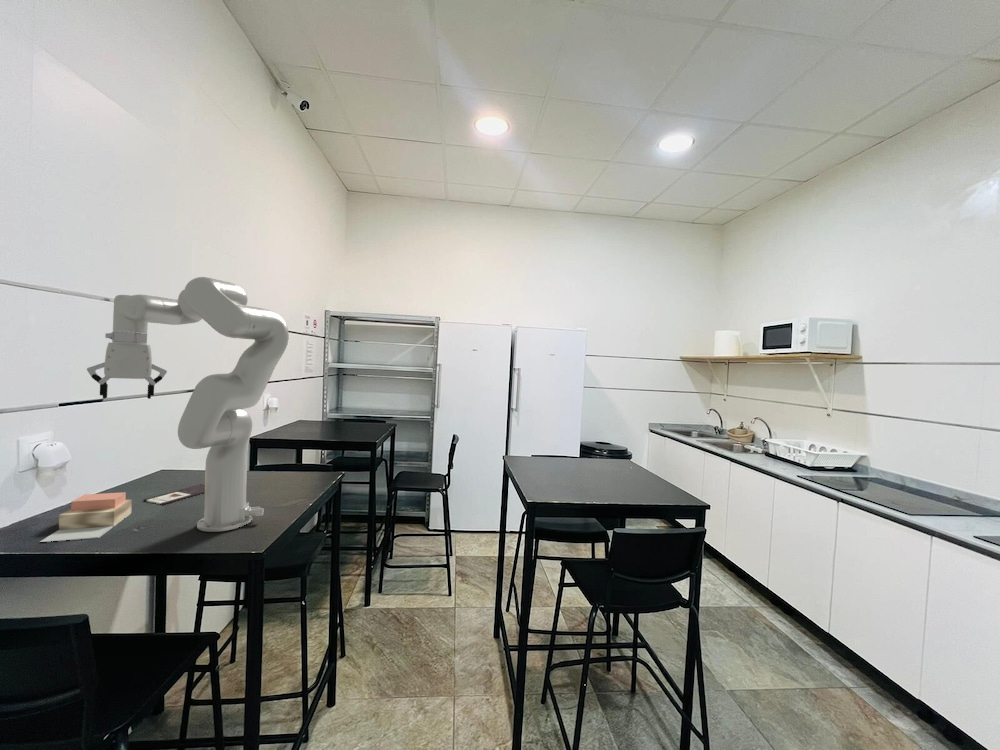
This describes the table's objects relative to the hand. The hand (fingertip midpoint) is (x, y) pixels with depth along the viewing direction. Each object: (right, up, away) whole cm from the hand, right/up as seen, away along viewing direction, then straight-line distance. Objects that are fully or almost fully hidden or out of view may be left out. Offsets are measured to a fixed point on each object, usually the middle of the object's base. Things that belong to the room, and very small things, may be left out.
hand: (127, 398), depth 123 cm
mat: (+3, -33, -17) cm, 37 cm away
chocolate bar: (+5, -33, +15) cm, 36 cm away
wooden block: (0, -33, -9) cm, 34 cm away
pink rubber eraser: (0, -29, -8) cm, 30 cm away
